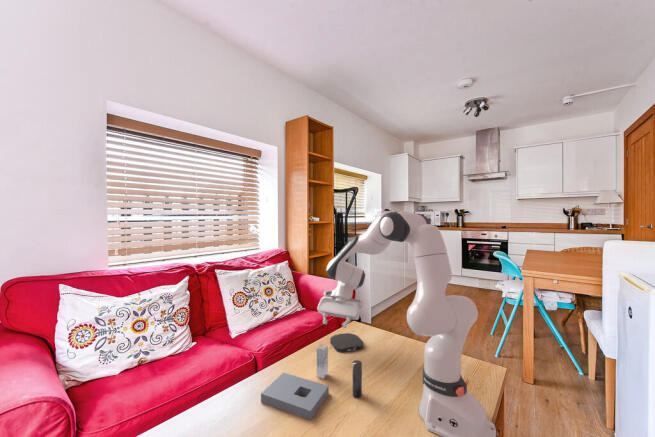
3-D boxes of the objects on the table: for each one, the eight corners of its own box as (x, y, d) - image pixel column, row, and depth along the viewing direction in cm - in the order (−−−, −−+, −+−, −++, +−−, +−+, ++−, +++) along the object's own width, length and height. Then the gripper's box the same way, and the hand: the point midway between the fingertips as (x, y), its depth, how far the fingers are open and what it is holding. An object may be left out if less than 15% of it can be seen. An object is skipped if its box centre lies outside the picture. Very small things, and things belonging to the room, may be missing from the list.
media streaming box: (353, 336, 148) (353, 331, 148) (365, 349, 134) (365, 343, 134) (328, 340, 144) (328, 335, 143) (338, 354, 130) (338, 348, 130)
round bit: (363, 394, 101) (363, 362, 100) (357, 399, 98) (357, 366, 98) (356, 390, 103) (356, 359, 103) (350, 394, 101) (350, 362, 100)
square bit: (327, 374, 113) (327, 346, 113) (324, 379, 110) (324, 349, 110) (320, 372, 115) (320, 344, 114) (316, 377, 112) (316, 348, 111)
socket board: (328, 393, 101) (328, 385, 101) (310, 420, 89) (310, 410, 89) (283, 379, 110) (283, 372, 110) (260, 401, 97) (260, 393, 97)
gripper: (364, 303, 129) (357, 332, 121) (325, 297, 138) (316, 324, 129) (361, 297, 125) (354, 326, 116) (321, 291, 134) (311, 318, 125)
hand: (334, 325), depth 123 cm, fingers open, 8 cm apart
